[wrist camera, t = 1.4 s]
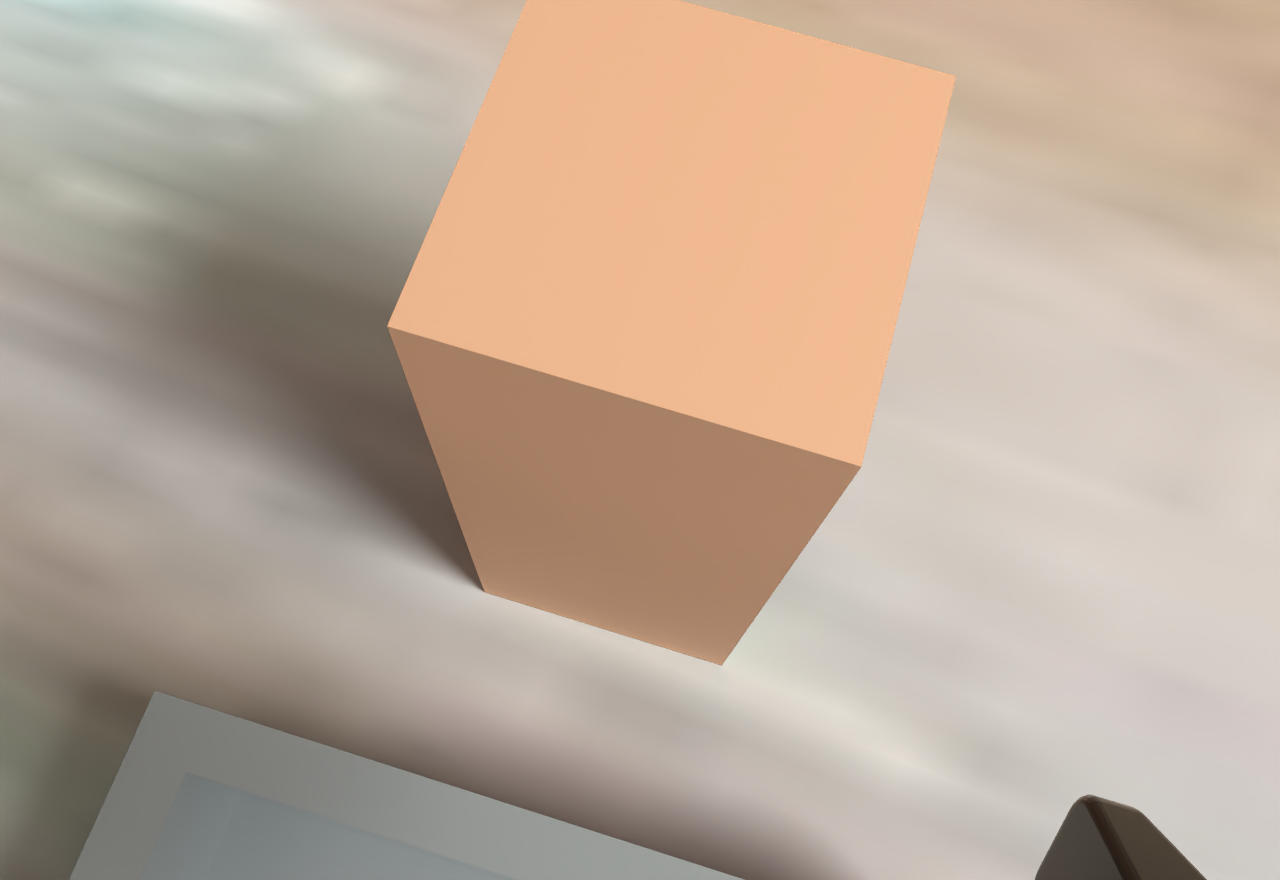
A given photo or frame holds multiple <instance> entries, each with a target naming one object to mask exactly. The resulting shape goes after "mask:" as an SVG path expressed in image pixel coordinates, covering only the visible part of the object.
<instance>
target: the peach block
mask: <svg viewBox="0 0 1280 880" xmlns="http://www.w3.org/2000/svg"><path fill="white" fill-rule="evenodd" d="M955 78H956V76H954V75H950V74H947V73H943V72H939V71H936V70H932V69H928V68H925V67H921V66H917V65H914V64H910V63H906V62H903V61H899V60H896V59H892V58H888V57H885V56H881V55H877V54H874V53H870V52H866V51H863V50H859V49H855V48H852V47H848V46H844V45H841V44H837V43H833V42H830V41H826V40H822V39H819V38H815V37H811V36H808V35H804V34H800V33H797V32H793V31H789V30H786V29H782V28H778V27H775V26H771V25H767V24H764V23H760V22H757V21H753V20H749V19H746V18H742V17H738V16H735V15H731V14H727V13H724V12H720V11H716V10H713V9H709V8H705V7H702V6H698V5H694V4H691V3H687V2H683V1H680V0H527V1H526V4H525V6H524V8H523V11H522V13H521V15H520V18H519V20H518V22H517V25H516V27H515V29H514V32H513V34H512V36H511V39H510V41H509V43H508V46H507V48H506V50H505V53H504V55H503V57H502V60H501V62H500V64H499V67H498V69H497V71H496V74H495V76H494V78H493V81H492V83H491V85H490V88H489V90H488V92H487V95H486V97H485V99H484V102H483V104H482V106H481V109H480V111H479V113H478V116H477V118H476V120H475V123H474V125H473V127H472V130H471V132H470V134H469V137H468V139H467V141H466V144H465V146H464V148H463V151H462V153H461V155H460V158H459V160H458V162H457V165H456V167H455V169H454V171H453V174H452V176H451V178H450V181H449V183H448V185H447V188H446V190H445V192H444V195H443V197H442V199H441V202H440V204H439V206H438V209H437V211H436V213H435V216H434V218H433V220H432V223H431V225H430V227H429V230H428V232H427V234H426V237H425V239H424V241H423V244H422V246H421V248H420V251H419V253H418V255H417V258H416V260H415V262H414V265H413V267H412V269H411V272H410V274H409V276H408V279H407V281H406V283H405V286H404V288H403V290H402V293H401V295H400V297H399V300H398V302H397V304H396V307H395V309H394V311H393V314H392V316H391V318H390V321H389V323H388V325H387V327H388V330H389V333H390V335H391V338H392V341H393V344H394V346H395V349H396V352H397V354H398V357H399V360H400V363H401V365H402V368H403V371H404V374H405V376H406V379H407V382H408V385H409V387H410V390H411V393H412V395H413V398H414V401H415V404H416V406H417V409H418V412H419V415H420V417H421V420H422V423H423V426H424V428H425V431H426V434H427V437H428V439H429V442H430V445H431V447H432V450H433V453H434V456H435V458H436V461H437V464H438V467H439V469H440V472H441V475H442V478H443V480H444V483H445V486H446V488H447V491H448V494H449V497H450V499H451V502H452V505H453V508H454V510H455V513H456V516H457V519H458V521H459V524H460V527H461V530H462V532H463V535H464V538H465V540H466V543H467V546H468V549H469V551H470V554H471V557H472V560H473V562H474V565H475V568H476V571H477V573H478V576H479V579H480V581H481V584H482V587H483V590H484V592H486V593H489V594H493V595H496V596H499V597H502V598H505V599H509V600H512V601H515V602H518V603H522V604H525V605H528V606H531V607H535V608H538V609H541V610H544V611H548V612H551V613H554V614H557V615H560V616H564V617H567V618H570V619H573V620H577V621H580V622H583V623H586V624H590V625H593V626H596V627H599V628H602V629H606V630H609V631H612V632H615V633H619V634H622V635H625V636H628V637H632V638H635V639H638V640H641V641H644V642H648V643H651V644H654V645H657V646H661V647H664V648H667V649H670V650H674V651H677V652H680V653H683V654H686V655H690V656H693V657H696V658H699V659H703V660H706V661H709V662H712V663H716V664H719V665H722V664H723V663H724V662H725V660H726V659H727V657H728V656H729V654H730V653H731V652H732V650H733V649H734V647H735V646H736V644H737V643H738V642H739V640H740V639H741V637H742V636H743V634H744V633H745V632H746V630H747V629H748V627H749V626H750V625H751V623H752V622H753V620H754V619H755V617H756V616H757V615H758V613H759V612H760V610H761V609H762V607H763V606H764V605H765V603H766V602H767V600H768V599H769V597H770V596H771V595H772V593H773V592H774V590H775V589H776V587H777V586H778V585H779V583H780V582H781V580H782V579H783V577H784V576H785V575H786V573H787V572H788V570H789V569H790V568H791V566H792V565H793V563H794V562H795V560H796V559H797V558H798V556H799V555H800V553H801V552H802V550H803V549H804V548H805V546H806V545H807V543H808V542H809V540H810V539H811V538H812V536H813V535H814V533H815V532H816V530H817V529H818V528H819V526H820V525H821V523H822V522H823V521H824V519H825V518H826V516H827V515H828V513H829V512H830V511H831V509H832V508H833V506H834V505H835V503H836V502H837V501H838V499H839V498H840V496H841V495H842V493H843V492H844V491H845V489H846V488H847V486H848V485H849V483H850V482H851V481H852V479H853V478H854V476H855V475H856V473H857V472H858V471H859V469H860V468H861V466H862V462H863V458H864V454H865V449H866V445H867V441H868V437H869V433H870V429H871V425H872V421H873V416H874V412H875V408H876V404H877V400H878V396H879V392H880V388H881V383H882V379H883V375H884V371H885V367H886V363H887V359H888V355H889V351H890V346H891V342H892V338H893V334H894V330H895V326H896V322H897V318H898V313H899V309H900V305H901V301H902V297H903V293H904V289H905V285H906V280H907V276H908V272H909V268H910V264H911V260H912V256H913V252H914V247H915V243H916V239H917V235H918V231H919V227H920V223H921V219H922V214H923V210H924V206H925V202H926V198H927V194H928V190H929V186H930V181H931V177H932V173H933V169H934V165H935V161H936V157H937V153H938V148H939V144H940V140H941V136H942V132H943V128H944V124H945V120H946V116H947V111H948V107H949V103H950V99H951V95H952V91H953V87H954V83H955Z"/></svg>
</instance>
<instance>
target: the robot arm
mask: <svg viewBox="0 0 1280 880" xmlns="http://www.w3.org/2000/svg"><path fill="white" fill-rule="evenodd" d="M1035 880H1207V879H1206V878H1205V877H1204V876H1203V875H1202V874H1201V873H1200V872H1199V871H1198V870H1197V869H1196V868H1195V867H1194V866H1193V865H1192V864H1191V863H1190V862H1189V861H1188V860H1187V859H1186V858H1185V857H1184V856H1183V855H1182V854H1181V853H1180V851H1179V850H1178V849H1177V848H1176V847H1175V846H1174V845H1173V844H1172V843H1171V842H1170V841H1169V840H1168V839H1167V838H1166V837H1165V836H1164V835H1163V834H1162V833H1161V832H1160V831H1159V830H1158V829H1157V828H1156V827H1155V826H1154V825H1153V823H1152V822H1151V821H1150V820H1149V819H1148V818H1147V817H1146V816H1145V815H1144V814H1143V813H1142V812H1140V811H1139V810H1137V809H1135V808H1133V807H1130V806H1127V805H1124V804H1120V803H1117V802H1114V801H1110V800H1107V799H1104V798H1100V797H1097V796H1094V795H1086V796H1083V797H1080V798H1079V799H1078V800H1077V801H1076V802H1075V803H1074V804H1073V806H1072V807H1071V809H1070V810H1069V812H1068V814H1067V816H1066V818H1065V820H1064V822H1063V824H1062V826H1061V827H1060V829H1059V831H1058V833H1057V835H1056V837H1055V839H1054V841H1053V843H1052V845H1051V846H1050V848H1049V850H1048V852H1047V854H1046V856H1045V858H1044V860H1043V862H1042V864H1041V866H1040V867H1039V870H1038V872H1037V874H1036V877H1035Z"/></svg>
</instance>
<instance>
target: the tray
mask: <svg viewBox="0 0 1280 880" xmlns="http://www.w3.org/2000/svg"><path fill="white" fill-rule="evenodd" d="M69 880H744V879H741V878H738V877H735V876H732V875H729V874H726V873H722V872H719V871H716V870H713V869H710V868H707V867H704V866H701V865H698V864H694V863H691V862H688V861H685V860H682V859H679V858H676V857H673V856H670V855H666V854H663V853H660V852H657V851H654V850H651V849H648V848H645V847H641V846H638V845H635V844H632V843H629V842H626V841H623V840H620V839H617V838H613V837H610V836H607V835H604V834H601V833H598V832H595V831H592V830H588V829H585V828H582V827H579V826H576V825H573V824H570V823H567V822H564V821H560V820H557V819H554V818H551V817H548V816H545V815H542V814H539V813H536V812H532V811H529V810H526V809H523V808H520V807H517V806H514V805H511V804H507V803H504V802H501V801H498V800H495V799H492V798H489V797H486V796H483V795H479V794H476V793H473V792H470V791H467V790H464V789H461V788H458V787H454V786H451V785H448V784H445V783H442V782H439V781H436V780H433V779H430V778H426V777H423V776H420V775H417V774H414V773H411V772H408V771H405V770H402V769H398V768H395V767H392V766H389V765H386V764H383V763H380V762H377V761H373V760H370V759H367V758H364V757H361V756H358V755H355V754H352V753H349V752H345V751H342V750H339V749H336V748H333V747H330V746H327V745H324V744H320V743H317V742H314V741H311V740H308V739H305V738H302V737H299V736H296V735H292V734H289V733H286V732H283V731H280V730H277V729H274V728H271V727H268V726H264V725H261V724H258V723H255V722H252V721H249V720H246V719H243V718H239V717H236V716H233V715H230V714H227V713H224V712H221V711H218V710H215V709H211V708H208V707H205V706H202V705H199V704H196V703H193V702H190V701H186V700H183V699H180V698H177V697H174V696H171V695H168V694H165V693H162V692H158V691H154V693H153V696H152V698H151V700H150V702H149V704H148V707H147V709H146V711H145V713H144V715H143V718H142V720H141V722H140V724H139V726H138V729H137V731H136V733H135V735H134V737H133V740H132V742H131V744H130V746H129V748H128V751H127V753H126V755H125V757H124V759H123V762H122V764H121V766H120V768H119V770H118V773H117V775H116V777H115V779H114V781H113V784H112V786H111V788H110V790H109V792H108V795H107V797H106V799H105V801H104V804H103V806H102V808H101V810H100V812H99V815H98V817H97V819H96V821H95V823H94V826H93V828H92V830H91V832H90V834H89V837H88V839H87V841H86V843H85V845H84V848H83V850H82V852H81V854H80V856H79V859H78V861H77V863H76V865H75V867H74V870H73V872H72V874H71V876H70V878H69Z"/></svg>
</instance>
